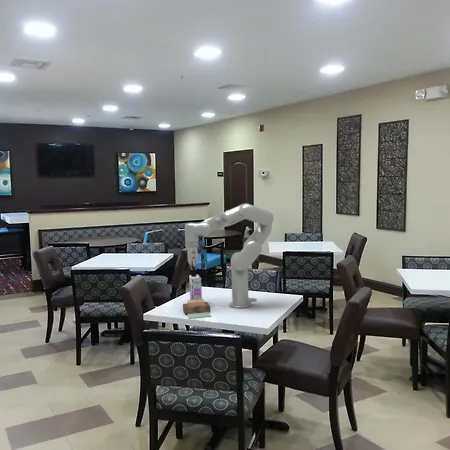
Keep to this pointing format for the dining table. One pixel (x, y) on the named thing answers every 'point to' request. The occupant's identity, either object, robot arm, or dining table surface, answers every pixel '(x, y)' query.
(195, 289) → the candy box
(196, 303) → the tile
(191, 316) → the mat
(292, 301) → the dining table surface
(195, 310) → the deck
